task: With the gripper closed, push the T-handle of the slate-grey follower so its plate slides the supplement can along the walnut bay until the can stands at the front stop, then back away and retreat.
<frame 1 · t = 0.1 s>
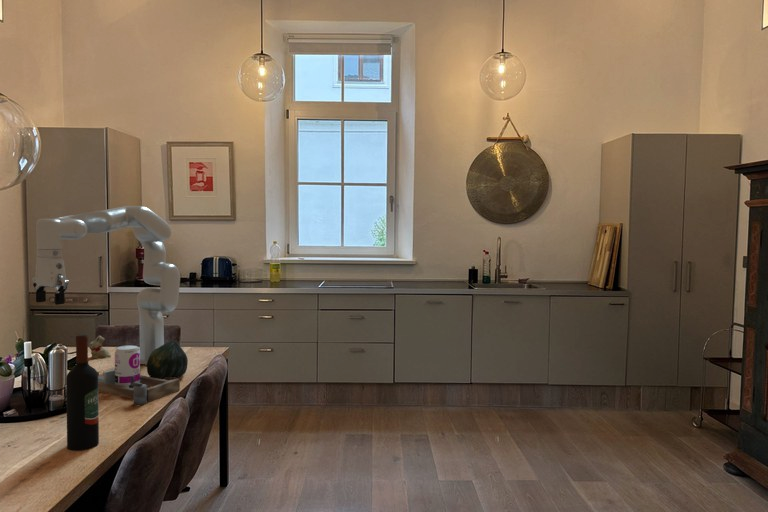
hand: (50, 303, 192), 31 cm above the table, tool pointing down, fingers open, 9 cm apart
supplement can: (127, 388, 198), resting in bay
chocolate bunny: (100, 357, 240), on the table
wine bottle: (83, 445, 149), on the table
follower: (103, 374, 203), point 3 cm above the table, slide at 0.0 cm
bay: (135, 389, 197), on the table
squash: (167, 377, 213), on the table
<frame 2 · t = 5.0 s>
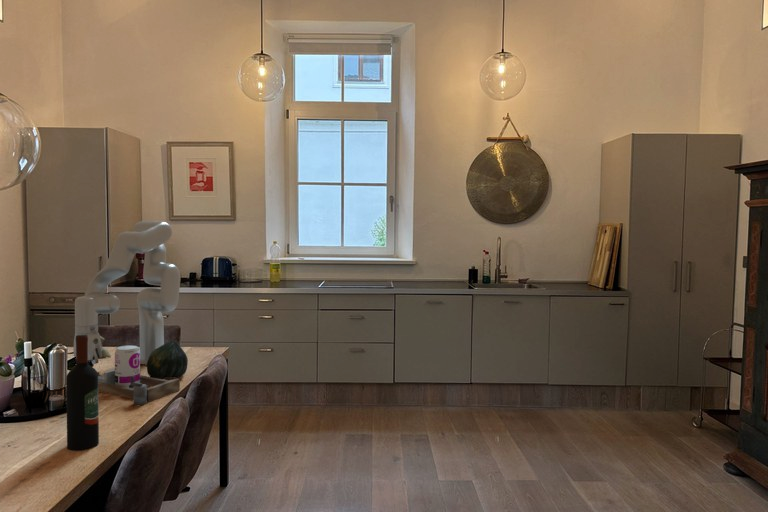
hand: (87, 377, 206), 1 cm above the table, tool pointing down, fingers closed
follower: (104, 375, 203), point 3 cm above the table, slide at 0.4 cm, touching gripper
everything else where it was.
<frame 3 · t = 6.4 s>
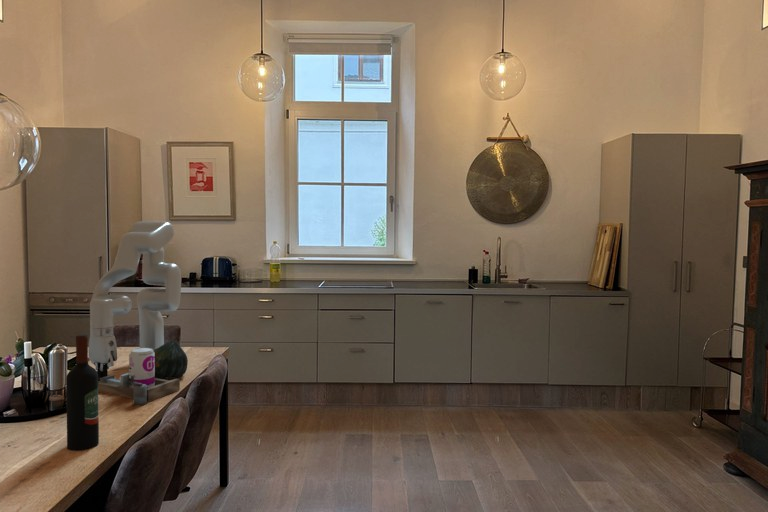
hand: (102, 380, 203), 1 cm above the table, tool pointing down, fingers closed
supplement can: (142, 392, 195), resting in bay, touching follower
follower: (119, 377, 199), point 3 cm above the table, slide at 8.4 cm, touching gripper, supplement can
everything else where it was.
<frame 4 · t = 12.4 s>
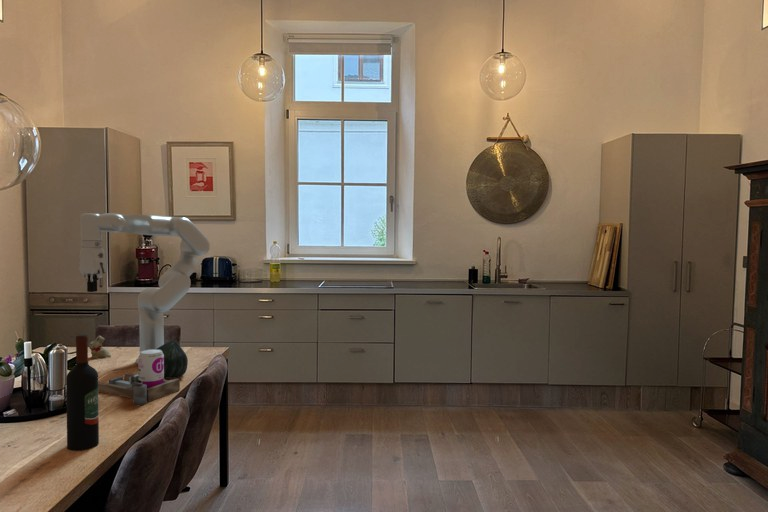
hand: (92, 291, 216), 32 cm above the table, tool pointing down, fingers closed
supplement can: (151, 394, 193), resting in bay
follower: (128, 379, 198), point 3 cm above the table, slide at 12.7 cm
everything else where it was.
at the end: supplement can inside the target area (0.9 cm from its centre), resting in bay; supplement can tilted 0°; follower slide at 12.7 cm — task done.
